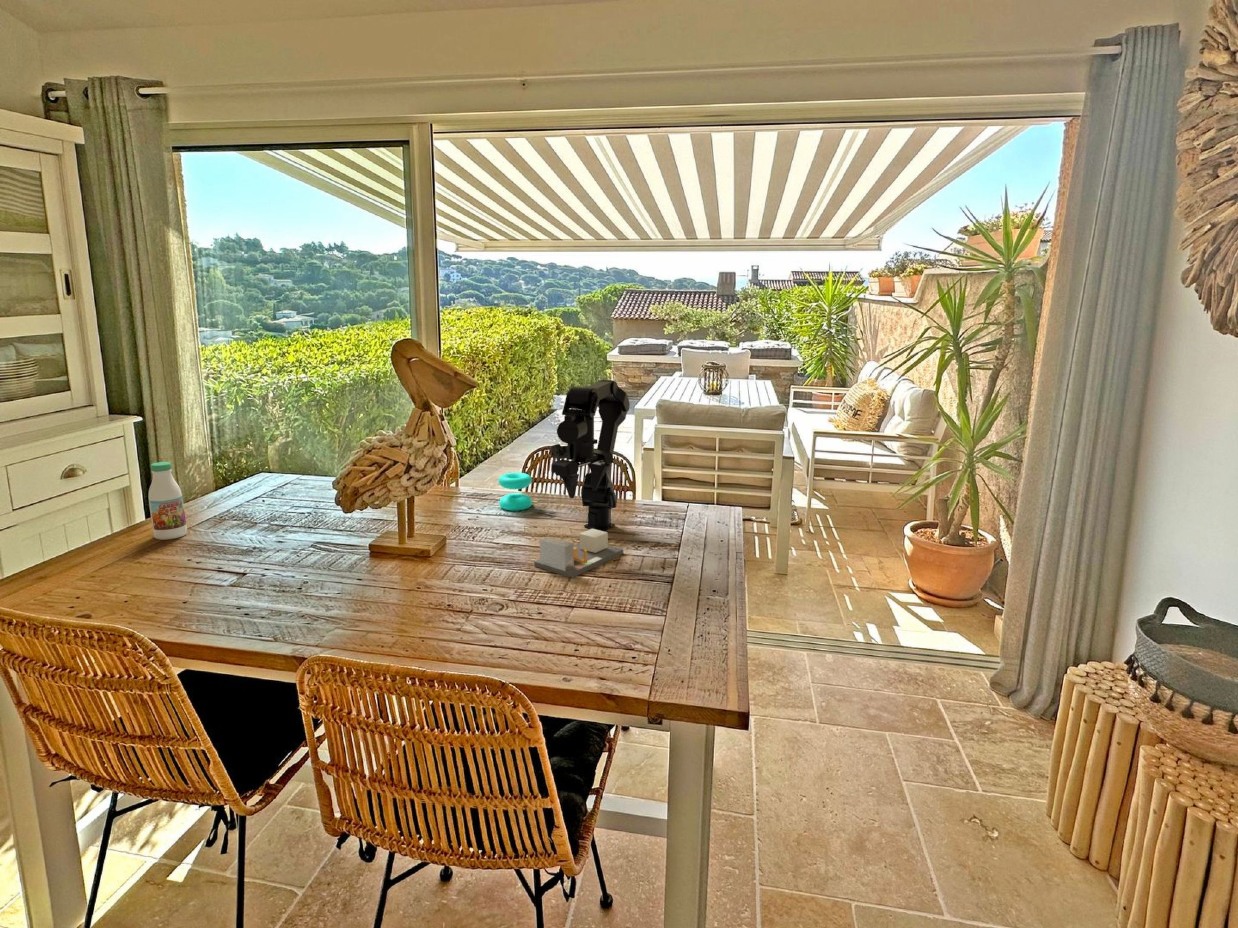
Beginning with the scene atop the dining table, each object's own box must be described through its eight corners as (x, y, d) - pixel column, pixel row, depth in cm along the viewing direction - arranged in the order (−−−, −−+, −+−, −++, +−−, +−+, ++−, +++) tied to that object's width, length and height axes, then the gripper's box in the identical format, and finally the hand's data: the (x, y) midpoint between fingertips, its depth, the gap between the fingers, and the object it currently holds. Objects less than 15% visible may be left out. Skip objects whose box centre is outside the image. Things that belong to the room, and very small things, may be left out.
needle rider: (565, 555, 179) (565, 542, 178) (588, 562, 175) (588, 549, 174) (559, 558, 177) (559, 544, 176) (583, 565, 173) (583, 551, 172)
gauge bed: (586, 543, 192) (586, 517, 190) (623, 553, 185) (623, 526, 183) (534, 566, 176) (533, 537, 175) (571, 577, 169) (571, 548, 168)
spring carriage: (592, 543, 188) (592, 528, 187) (607, 547, 185) (607, 532, 184) (579, 548, 184) (579, 533, 183) (595, 552, 181) (595, 537, 180)
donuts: (531, 479, 217) (497, 480, 216) (532, 511, 219) (498, 512, 218) (531, 471, 226) (499, 471, 225) (532, 501, 229) (500, 502, 228)
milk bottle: (147, 538, 194) (136, 465, 189) (174, 529, 201) (164, 458, 196) (167, 542, 191) (156, 468, 186) (194, 533, 198) (184, 461, 193)
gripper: (582, 426, 199) (582, 481, 203) (534, 437, 184) (536, 496, 188) (614, 431, 192) (614, 488, 196) (568, 443, 178) (568, 504, 182)
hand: (583, 494), depth 191 cm, fingers open, 9 cm apart
